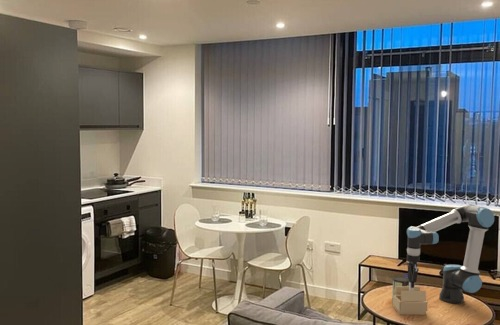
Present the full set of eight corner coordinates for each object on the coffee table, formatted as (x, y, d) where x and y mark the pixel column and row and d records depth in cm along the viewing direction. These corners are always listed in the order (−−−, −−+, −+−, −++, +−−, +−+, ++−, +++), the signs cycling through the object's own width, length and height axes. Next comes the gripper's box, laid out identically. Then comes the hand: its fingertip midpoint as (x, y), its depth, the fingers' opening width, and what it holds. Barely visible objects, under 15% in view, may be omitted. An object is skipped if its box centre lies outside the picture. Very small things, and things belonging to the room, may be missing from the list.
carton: (419, 307, 313) (420, 295, 313) (427, 315, 301) (427, 302, 301) (392, 307, 313) (393, 295, 312) (399, 314, 301) (399, 301, 300)
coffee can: (407, 297, 331) (408, 277, 330) (409, 303, 321) (410, 281, 320) (391, 296, 333) (392, 275, 332) (392, 301, 323) (393, 280, 322)
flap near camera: (425, 290, 303) (425, 290, 302) (426, 301, 301) (426, 301, 301) (400, 290, 302) (400, 290, 302) (401, 300, 300) (401, 300, 300)
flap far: (418, 294, 312) (418, 294, 313) (420, 286, 310) (420, 286, 310) (394, 294, 312) (394, 293, 312) (396, 286, 309) (396, 286, 310)
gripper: (403, 251, 309) (401, 288, 311) (411, 257, 296) (409, 295, 298) (415, 251, 309) (413, 288, 311) (423, 257, 296) (421, 296, 298)
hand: (411, 292), depth 304 cm, fingers closed
